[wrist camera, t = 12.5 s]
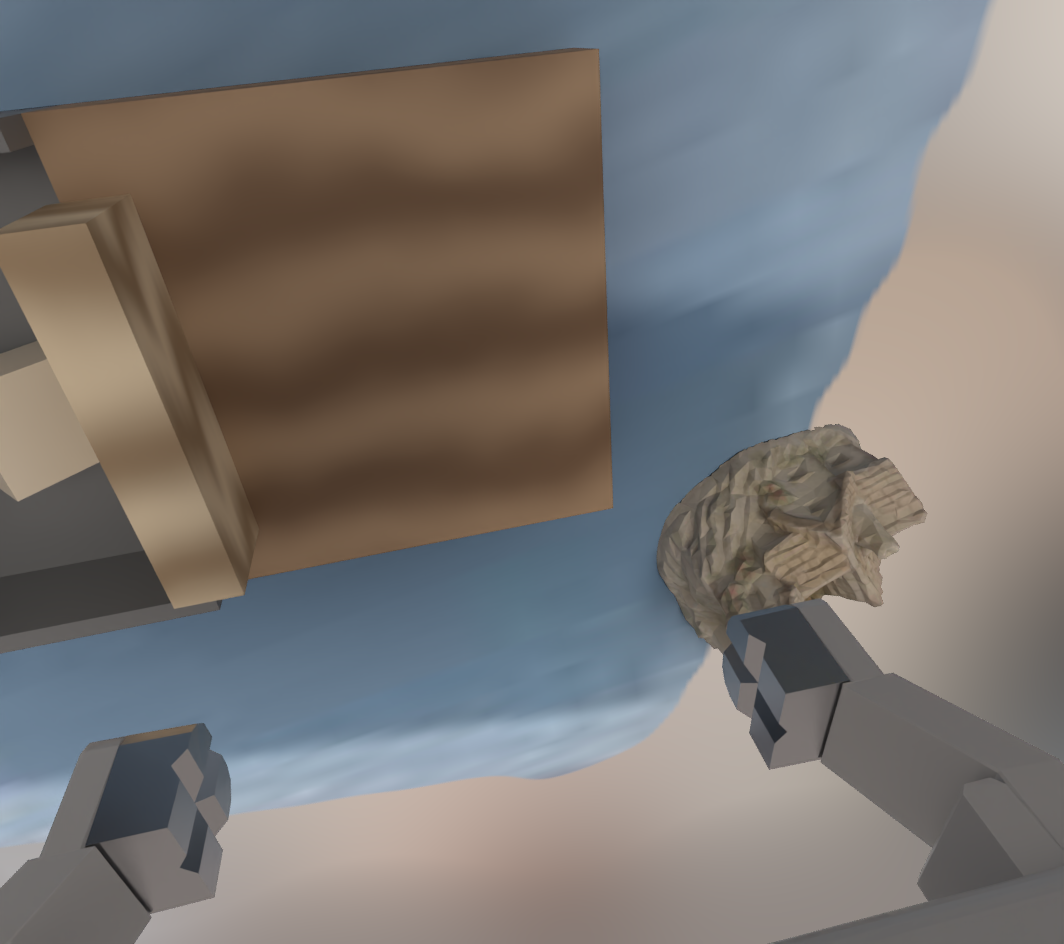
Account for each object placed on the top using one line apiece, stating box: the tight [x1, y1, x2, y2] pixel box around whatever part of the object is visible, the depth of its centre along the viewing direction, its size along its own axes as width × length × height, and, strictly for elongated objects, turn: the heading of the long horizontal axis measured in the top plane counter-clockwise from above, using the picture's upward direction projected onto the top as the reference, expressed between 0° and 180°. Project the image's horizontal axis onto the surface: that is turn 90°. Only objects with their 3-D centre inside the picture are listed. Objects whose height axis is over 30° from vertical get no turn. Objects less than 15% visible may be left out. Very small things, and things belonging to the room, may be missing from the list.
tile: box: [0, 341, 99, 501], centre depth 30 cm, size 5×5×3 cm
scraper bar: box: [0, 194, 259, 609], centre depth 28 cm, size 16×3×5 cm, turn 5°
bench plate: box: [21, 48, 613, 579], centre depth 33 cm, size 22×21×4 cm
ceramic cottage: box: [657, 424, 927, 654], centre depth 42 cm, size 16×16×15 cm
